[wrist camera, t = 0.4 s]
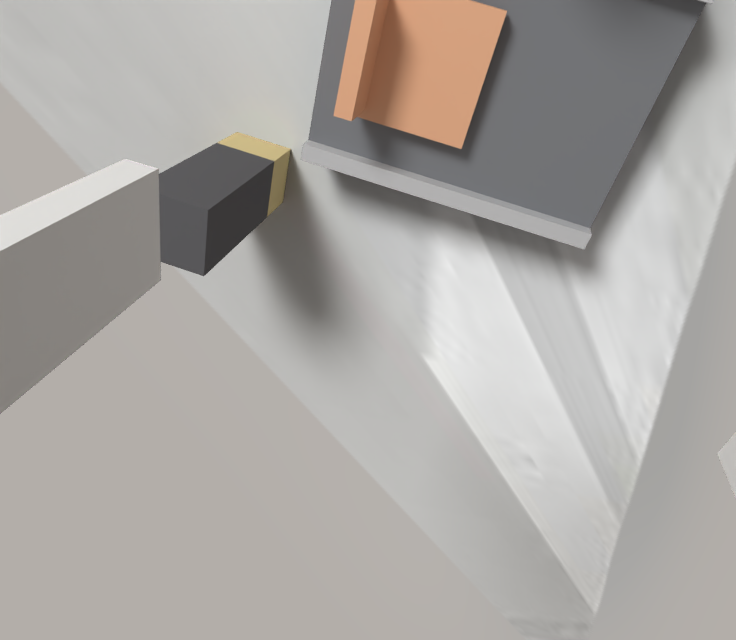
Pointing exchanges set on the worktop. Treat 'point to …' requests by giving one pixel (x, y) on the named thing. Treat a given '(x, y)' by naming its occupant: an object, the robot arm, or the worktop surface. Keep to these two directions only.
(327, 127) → the grey slab
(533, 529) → the worktop surface
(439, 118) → the shutter
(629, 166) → the worktop surface
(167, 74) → the worktop surface
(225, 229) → the plug
